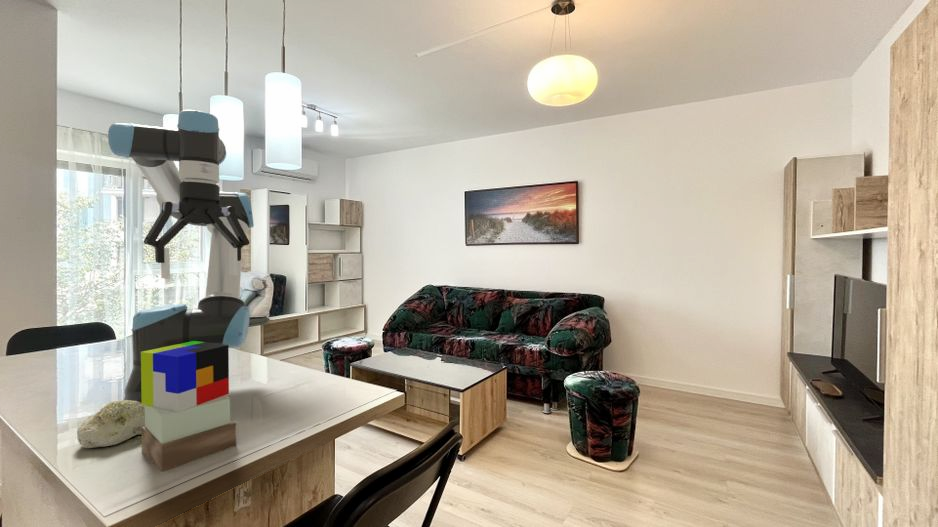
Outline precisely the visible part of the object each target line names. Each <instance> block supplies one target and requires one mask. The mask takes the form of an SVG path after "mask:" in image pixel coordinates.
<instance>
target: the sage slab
mask: <svg viewBox="0 0 938 527" xmlns="http://www.w3.org/2000/svg"><path fill="white" fill-rule="evenodd" d="M230 419H231V398H230V397H229V396H227V395H224V396H221V397H219V398H216V399H213V400H210V401H208V402H205V403H202V404H199V405H197V406H194V407H191V408H188V409H186V410H183V411H180V412H175V411H170V410H165V409H161V408H156V407H151V406H146V405H145V427H146V428H147V429H148V430H149V431H150V432H151V433H152V434H153V435H154V436H155V438H156V439H157V440H158V441H159V442H160V443H161V444H164V443H167V442H170V441H173V440H177V439H180V438H183V437H187V436H190V435H193V434H196V433H200V432H203V431H206V430H210V429H213V428H216V427H219V426H223V425H226V424H229V423H230Z"/></svg>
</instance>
